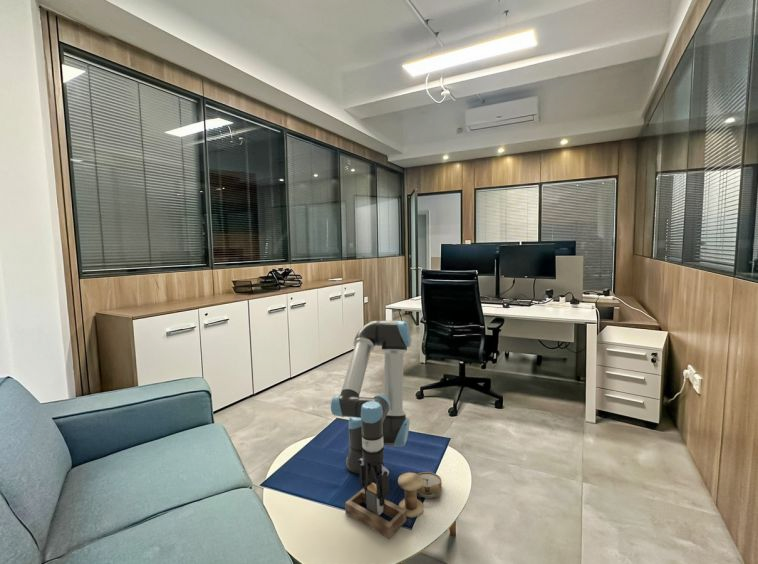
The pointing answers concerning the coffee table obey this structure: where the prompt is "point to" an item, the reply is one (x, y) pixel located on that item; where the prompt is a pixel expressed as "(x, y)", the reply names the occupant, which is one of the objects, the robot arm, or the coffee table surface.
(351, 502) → the open rectangular wooden frame
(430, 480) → the alarm clock
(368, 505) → the grey upright block
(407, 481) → the bobbin
